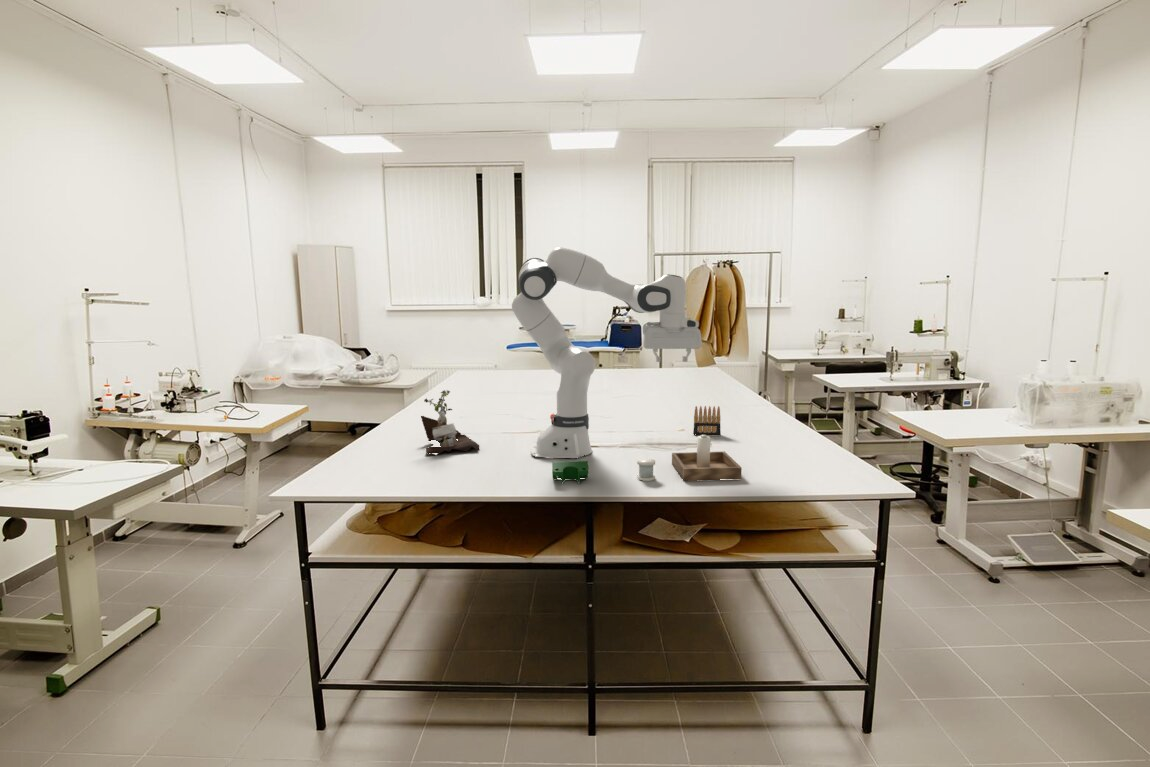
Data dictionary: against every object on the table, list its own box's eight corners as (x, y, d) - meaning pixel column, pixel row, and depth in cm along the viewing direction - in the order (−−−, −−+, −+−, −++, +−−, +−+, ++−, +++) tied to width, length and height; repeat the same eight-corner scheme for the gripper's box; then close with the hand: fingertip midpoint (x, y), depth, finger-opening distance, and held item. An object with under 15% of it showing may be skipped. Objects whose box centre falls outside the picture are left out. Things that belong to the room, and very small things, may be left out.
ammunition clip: (720, 434, 238) (720, 405, 236) (720, 435, 236) (721, 406, 234) (693, 434, 240) (693, 405, 238) (693, 435, 238) (694, 406, 236)
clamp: (559, 496, 183) (547, 474, 180) (558, 486, 188) (547, 464, 185) (594, 483, 181) (583, 459, 178) (593, 472, 187) (582, 450, 184)
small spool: (638, 481, 183) (638, 463, 182) (636, 476, 188) (636, 458, 187) (656, 481, 183) (656, 463, 182) (653, 475, 188) (653, 458, 187)
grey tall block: (698, 469, 191) (699, 437, 189) (695, 465, 195) (695, 434, 193) (711, 468, 191) (711, 436, 189) (707, 464, 195) (708, 433, 193)
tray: (683, 481, 182) (683, 469, 181) (671, 464, 200) (671, 452, 199) (741, 479, 183) (741, 467, 182) (724, 462, 200) (724, 451, 200)
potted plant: (428, 464, 213) (412, 397, 214) (429, 462, 231) (413, 400, 232) (482, 449, 218) (466, 384, 219) (478, 449, 236) (463, 388, 237)
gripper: (644, 322, 201) (643, 362, 203) (703, 322, 202) (702, 362, 204) (641, 321, 208) (640, 360, 209) (699, 321, 208) (697, 360, 210)
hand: (671, 361), depth 207 cm, fingers open, 8 cm apart
